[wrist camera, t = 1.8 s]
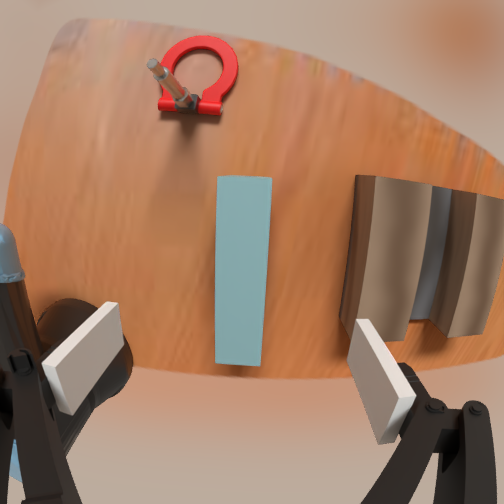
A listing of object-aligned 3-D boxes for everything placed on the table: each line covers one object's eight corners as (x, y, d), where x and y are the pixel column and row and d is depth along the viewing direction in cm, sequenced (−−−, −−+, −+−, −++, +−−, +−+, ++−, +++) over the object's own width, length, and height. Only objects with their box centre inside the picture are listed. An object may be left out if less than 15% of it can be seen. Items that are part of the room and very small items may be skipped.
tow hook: (170, 38, 27) (152, 112, 29) (131, -23, 15) (95, 75, 16) (244, 42, 27) (229, 118, 29) (237, -27, 15) (211, 76, 17)
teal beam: (260, 320, 35) (260, 366, 26) (226, 318, 35) (215, 363, 26) (269, 177, 31) (272, 178, 22) (230, 175, 31) (217, 176, 22)
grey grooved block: (338, 316, 34) (351, 342, 28) (355, 174, 30) (375, 176, 24) (459, 314, 34) (482, 334, 28) (481, 195, 30) (511, 201, 24)
